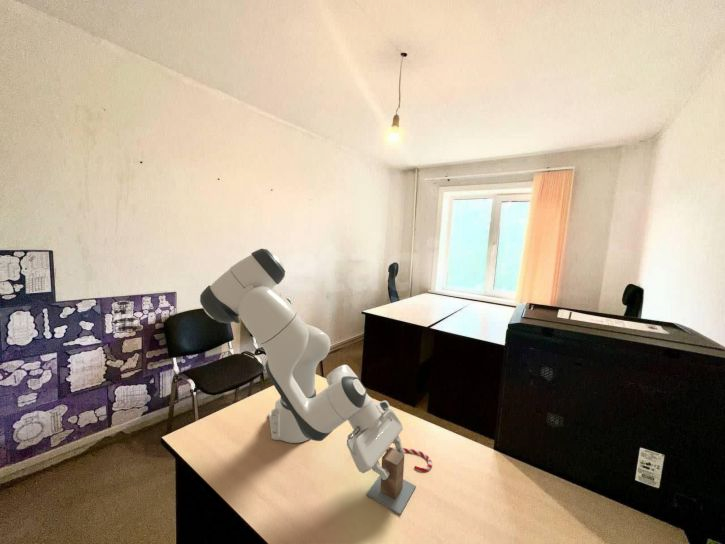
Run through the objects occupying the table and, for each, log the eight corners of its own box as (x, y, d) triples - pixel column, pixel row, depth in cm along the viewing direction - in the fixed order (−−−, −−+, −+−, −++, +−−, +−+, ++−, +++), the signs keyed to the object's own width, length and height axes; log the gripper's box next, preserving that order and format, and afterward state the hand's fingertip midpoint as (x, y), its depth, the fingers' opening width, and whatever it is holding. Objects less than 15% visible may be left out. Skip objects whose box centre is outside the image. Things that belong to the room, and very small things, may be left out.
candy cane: (389, 440, 98) (434, 454, 92) (389, 444, 98) (433, 458, 92) (381, 456, 90) (430, 472, 85) (381, 460, 91) (429, 476, 85)
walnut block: (380, 491, 78) (382, 457, 77) (388, 480, 82) (389, 447, 81) (395, 499, 76) (397, 465, 75) (402, 488, 79) (404, 454, 78)
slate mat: (366, 495, 77) (366, 493, 77) (384, 470, 86) (384, 469, 86) (400, 515, 72) (400, 513, 72) (415, 487, 80) (415, 485, 80)
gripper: (351, 434, 72) (384, 489, 68) (389, 398, 89) (417, 440, 85) (336, 443, 75) (367, 497, 70) (376, 406, 92) (402, 448, 88)
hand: (394, 465), depth 78 cm, fingers open, 8 cm apart
